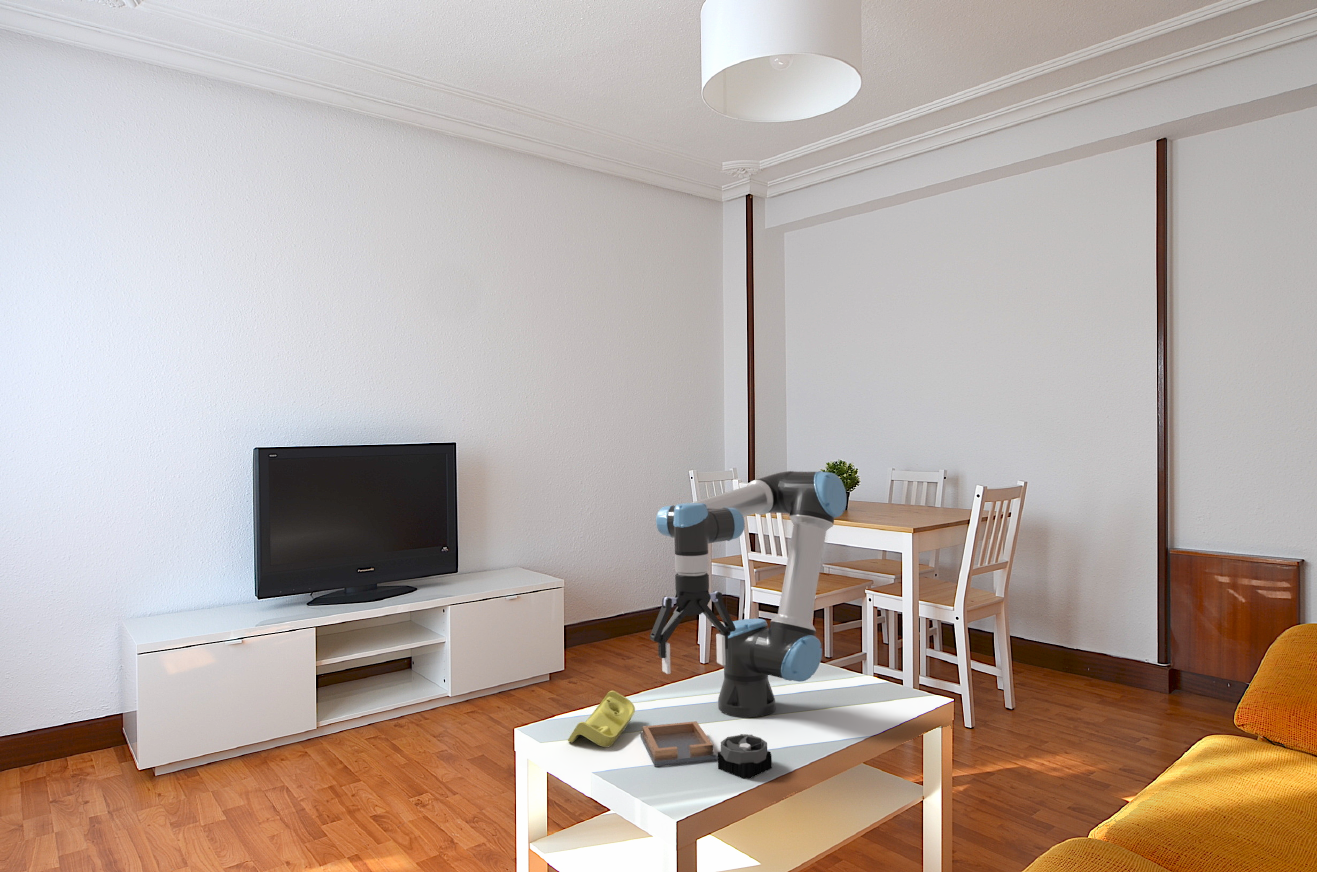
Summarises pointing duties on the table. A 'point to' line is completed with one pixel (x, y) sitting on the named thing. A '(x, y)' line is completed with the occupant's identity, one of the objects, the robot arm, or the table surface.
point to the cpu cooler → (744, 756)
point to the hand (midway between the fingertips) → (694, 668)
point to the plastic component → (606, 720)
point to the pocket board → (677, 744)
